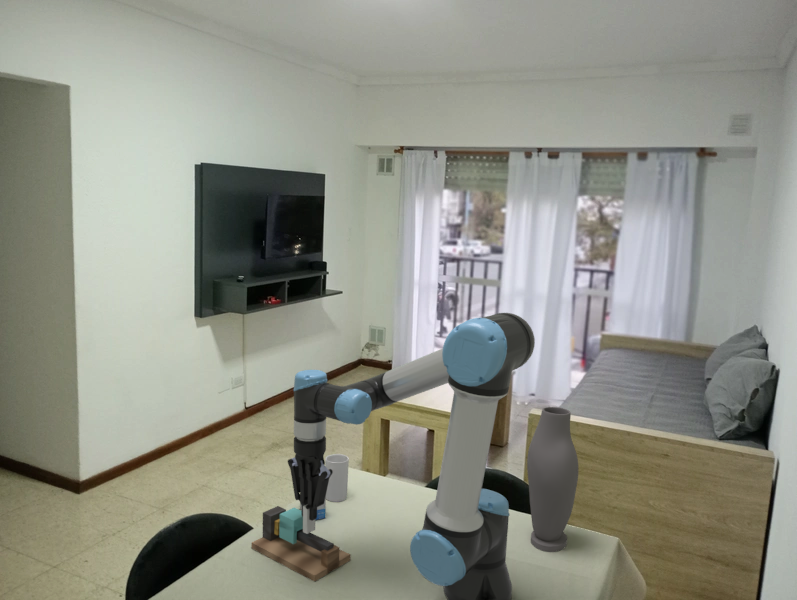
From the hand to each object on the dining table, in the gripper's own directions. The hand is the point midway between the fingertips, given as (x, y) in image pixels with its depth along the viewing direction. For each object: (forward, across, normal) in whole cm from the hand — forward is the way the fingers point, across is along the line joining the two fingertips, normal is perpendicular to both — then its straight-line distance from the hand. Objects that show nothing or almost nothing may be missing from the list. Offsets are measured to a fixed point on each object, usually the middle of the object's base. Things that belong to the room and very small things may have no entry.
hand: (309, 530), depth 154 cm
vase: (+8, -40, -47) cm, 62 cm away
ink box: (+7, +16, -17) cm, 24 cm away
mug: (+7, +19, -30) cm, 36 cm away
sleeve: (+3, +5, 0) cm, 6 cm away
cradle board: (+7, +3, 0) cm, 8 cm away
